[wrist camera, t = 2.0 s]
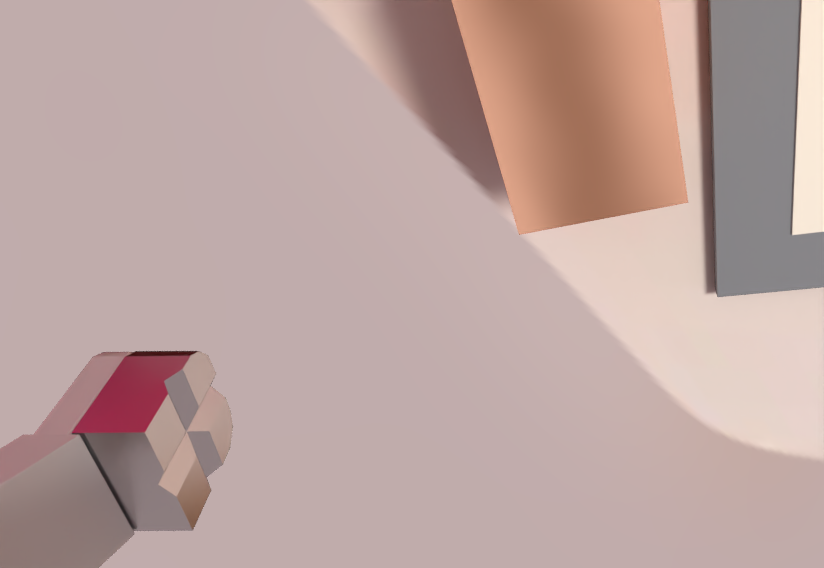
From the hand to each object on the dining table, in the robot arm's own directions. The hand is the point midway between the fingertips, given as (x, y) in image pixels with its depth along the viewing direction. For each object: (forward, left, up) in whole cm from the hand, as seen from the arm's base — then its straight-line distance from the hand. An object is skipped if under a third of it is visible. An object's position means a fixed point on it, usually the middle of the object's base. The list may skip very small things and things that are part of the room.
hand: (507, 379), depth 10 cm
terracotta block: (-1, +3, -23) cm, 23 cm away
